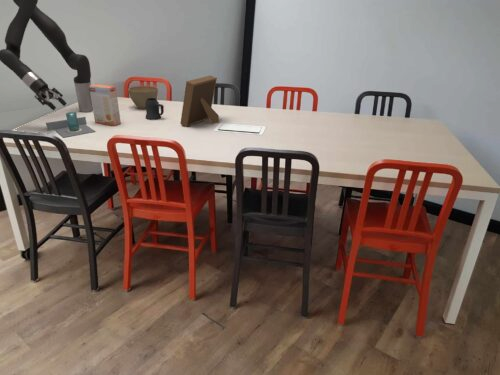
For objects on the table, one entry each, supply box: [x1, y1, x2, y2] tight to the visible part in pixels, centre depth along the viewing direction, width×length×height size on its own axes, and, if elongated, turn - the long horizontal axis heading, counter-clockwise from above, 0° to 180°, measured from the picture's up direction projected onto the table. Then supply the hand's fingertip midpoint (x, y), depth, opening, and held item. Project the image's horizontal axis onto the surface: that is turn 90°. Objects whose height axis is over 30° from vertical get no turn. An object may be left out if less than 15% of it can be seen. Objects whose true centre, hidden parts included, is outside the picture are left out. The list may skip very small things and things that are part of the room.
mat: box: [53, 124, 96, 139], centre depth 197 cm, size 16×16×1 cm
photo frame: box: [179, 75, 220, 128], centre depth 209 cm, size 15×22×25 cm
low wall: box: [45, 116, 88, 131], centre depth 202 cm, size 20×1×4 cm, turn 130°
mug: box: [145, 98, 165, 121], centre depth 219 cm, size 12×9×11 cm
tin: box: [65, 111, 79, 132], centre depth 195 cm, size 5×5×9 cm
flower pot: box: [127, 85, 159, 110], centre depth 240 cm, size 18×18×12 cm
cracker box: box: [89, 83, 122, 127], centre depth 206 cm, size 14×6×21 cm, turn 65°
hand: (60, 106), depth 193 cm, fingers open, 8 cm apart
